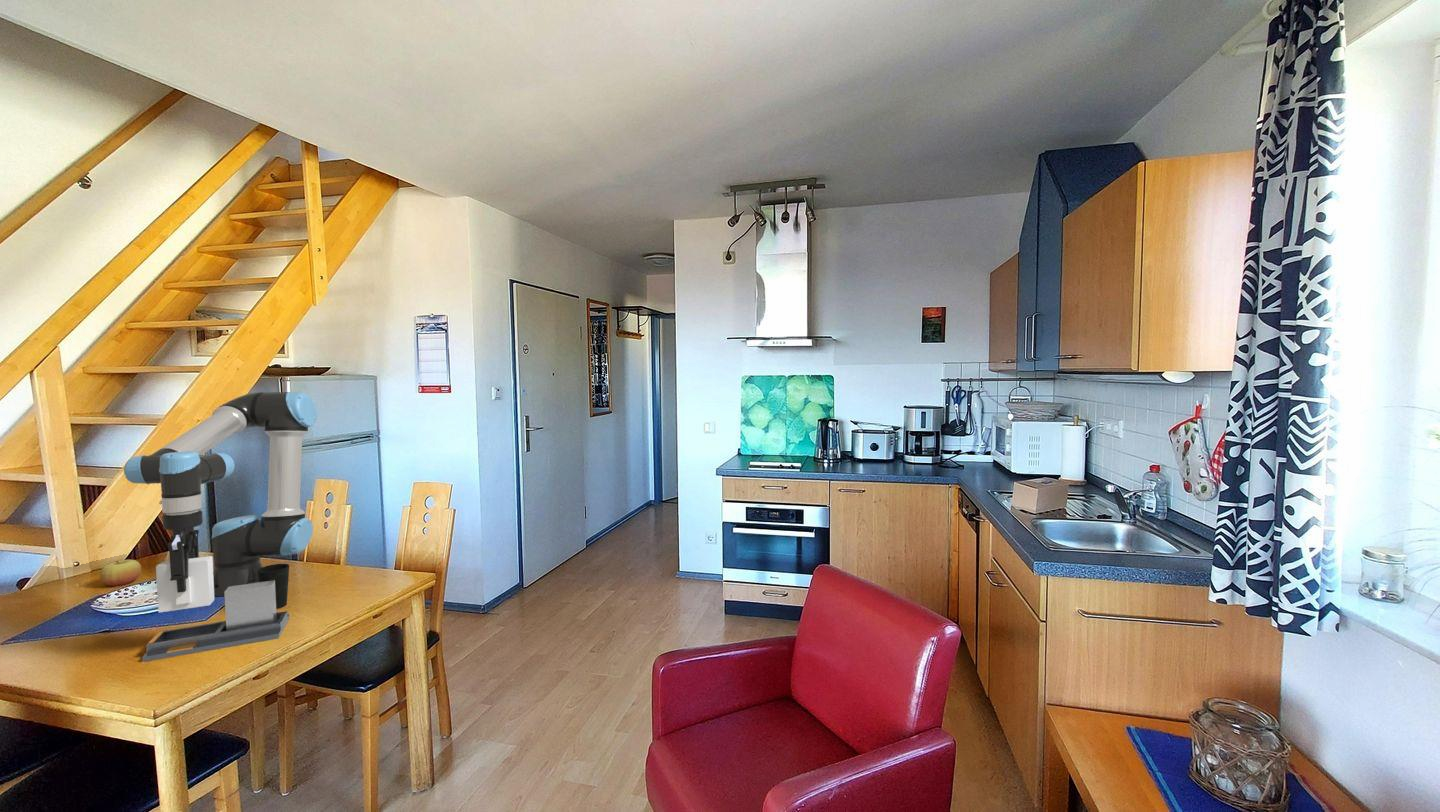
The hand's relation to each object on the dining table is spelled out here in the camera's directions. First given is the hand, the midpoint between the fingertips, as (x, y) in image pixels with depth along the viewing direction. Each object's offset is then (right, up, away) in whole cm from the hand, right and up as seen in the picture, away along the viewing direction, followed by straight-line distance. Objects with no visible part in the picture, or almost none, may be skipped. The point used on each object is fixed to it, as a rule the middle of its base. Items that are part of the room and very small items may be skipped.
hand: (187, 599), depth 149 cm
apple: (-62, -9, +43) cm, 76 cm away
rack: (+6, -12, +4) cm, 14 cm away
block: (0, -2, 0) cm, 2 cm away
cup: (+4, -11, +24) cm, 27 cm away
